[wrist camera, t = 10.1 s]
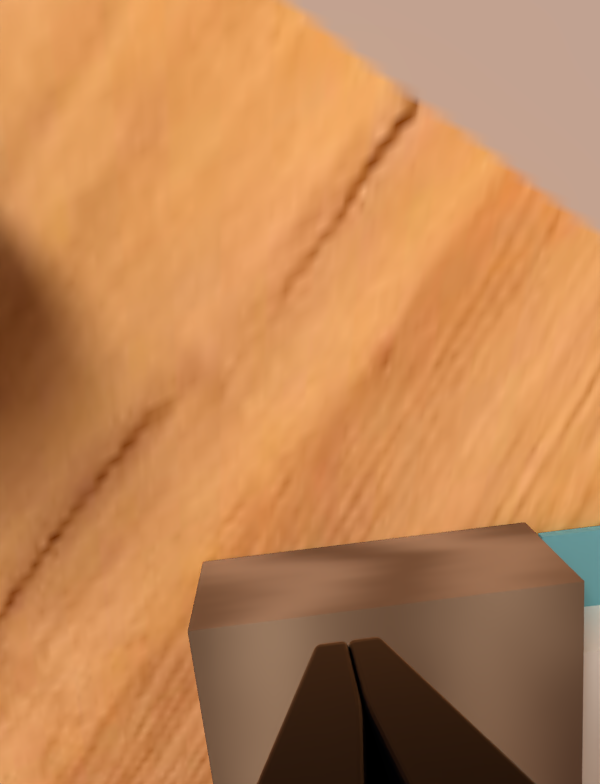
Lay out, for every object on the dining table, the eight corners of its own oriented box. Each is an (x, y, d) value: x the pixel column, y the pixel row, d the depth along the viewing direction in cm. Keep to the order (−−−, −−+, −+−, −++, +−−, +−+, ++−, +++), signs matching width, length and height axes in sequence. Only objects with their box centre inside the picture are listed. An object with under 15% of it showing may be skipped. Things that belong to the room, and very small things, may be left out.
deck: (243, 824, 23) (239, 937, 19) (203, 562, 20) (187, 631, 17) (529, 785, 23) (580, 888, 20) (525, 522, 21) (584, 581, 17)
